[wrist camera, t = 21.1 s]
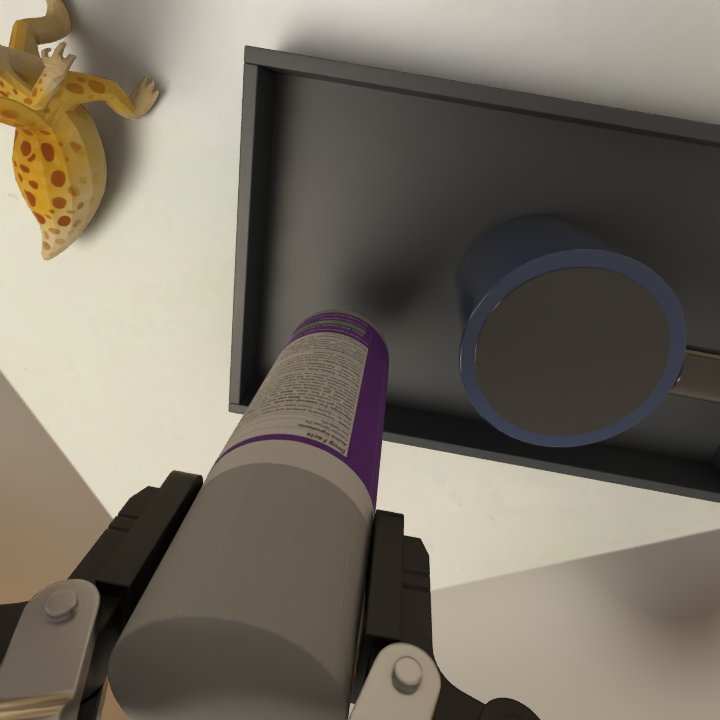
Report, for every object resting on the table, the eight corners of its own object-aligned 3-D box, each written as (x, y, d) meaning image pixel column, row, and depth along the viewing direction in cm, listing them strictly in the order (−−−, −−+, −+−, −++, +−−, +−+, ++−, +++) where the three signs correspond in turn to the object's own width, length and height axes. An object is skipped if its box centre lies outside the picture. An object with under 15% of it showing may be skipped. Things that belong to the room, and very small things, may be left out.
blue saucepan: (788, 257, 23) (952, 313, 16) (710, 402, 27) (815, 503, 19) (471, 201, 24) (490, 230, 17) (435, 349, 27) (438, 426, 20)
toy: (154, -103, 18) (-134, -105, 12) (182, 240, 29) (43, 341, 23) (12, -152, 19) (-331, -181, 12) (91, 199, 30) (-68, 284, 24)
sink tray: (706, 464, 30) (745, 508, 26) (249, 380, 30) (228, 412, 27) (879, 161, 22) (964, 166, 19) (269, 57, 23) (244, 44, 19)
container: (381, 409, 23) (339, 792, 10) (284, 393, 23) (111, 749, 10) (397, 317, 21) (373, 638, 8) (291, 300, 21) (85, 587, 8)
